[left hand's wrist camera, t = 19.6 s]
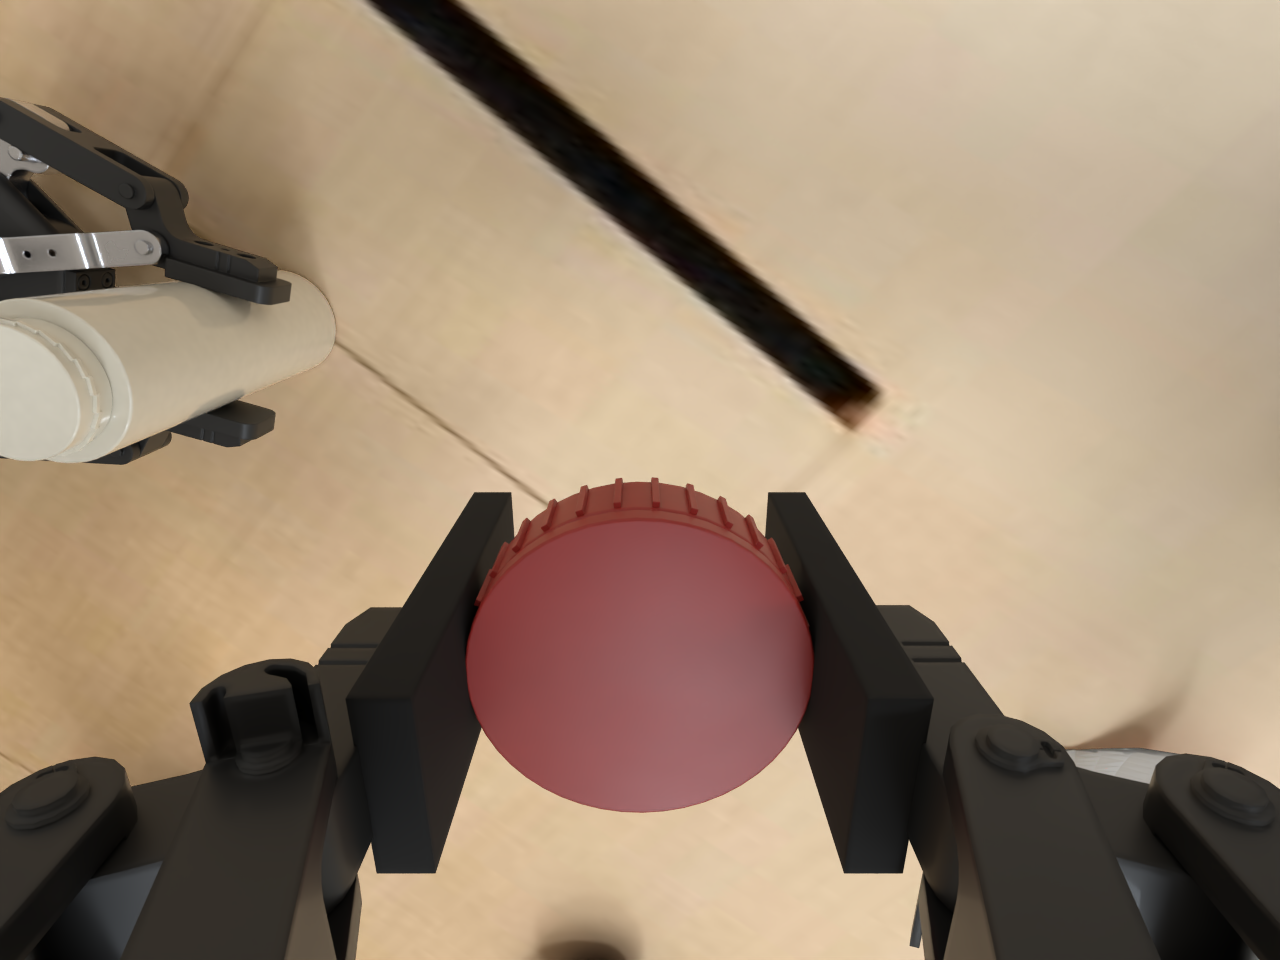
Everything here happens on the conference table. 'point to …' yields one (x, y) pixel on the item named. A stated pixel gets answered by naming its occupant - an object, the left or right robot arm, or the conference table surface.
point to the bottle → (143, 361)
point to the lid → (639, 648)
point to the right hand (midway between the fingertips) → (271, 361)
